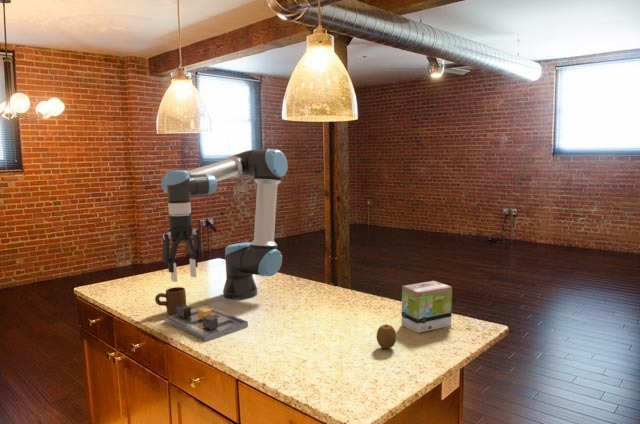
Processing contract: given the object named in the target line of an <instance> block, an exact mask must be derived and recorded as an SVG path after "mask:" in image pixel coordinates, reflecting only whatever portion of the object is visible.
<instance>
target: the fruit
mask: <svg viewBox="0 0 640 424" xmlns="http://www.w3.org/2000/svg"><path fill="white" fill-rule="evenodd" d="M376 342H377V343H378V346H380V348H382V349H384V350H388V349H391V348H393V347H394V346H395V344H396V343H397V333H396V330H395V328H394V327H393V326H392V325H391V324H387V323H386V324H382V325H380V326H379V327H378V329H377V332H376Z"/></svg>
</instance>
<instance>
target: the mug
mask: <svg viewBox="0 0 640 424" xmlns="http://www.w3.org/2000/svg"><path fill="white" fill-rule="evenodd" d="M160 298H165V300H161V299H160ZM154 301H155V303H156V305H158V306H163V307H166V313H167V314H168V316H170V315H174V314H177V306H180V305H183V304H184V305H187V295H186V289H185V288H184V287H183V286H182V287H181V286H180V287H179V286H177V287H176V286H175V287H170V288H167V289H166V290H165V293H164V292H160V293H157V294H156V295H155V298H154Z"/></svg>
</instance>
